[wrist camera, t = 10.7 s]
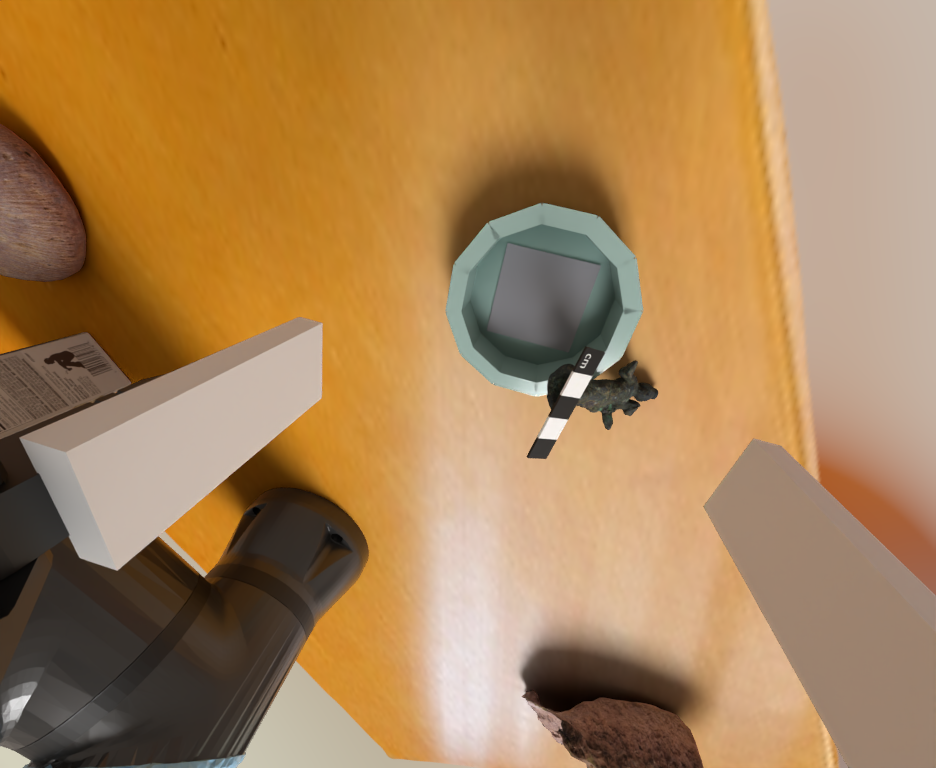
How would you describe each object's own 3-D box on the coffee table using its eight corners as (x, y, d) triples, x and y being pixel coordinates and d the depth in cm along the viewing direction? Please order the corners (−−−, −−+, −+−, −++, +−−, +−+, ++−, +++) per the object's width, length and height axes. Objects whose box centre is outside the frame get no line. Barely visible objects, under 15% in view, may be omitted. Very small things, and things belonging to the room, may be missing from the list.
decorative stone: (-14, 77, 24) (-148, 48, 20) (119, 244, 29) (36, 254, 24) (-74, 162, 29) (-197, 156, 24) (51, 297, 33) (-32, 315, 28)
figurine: (587, 347, 16) (718, 384, 22) (538, 316, 19) (665, 356, 25) (527, 458, 18) (661, 463, 24) (493, 414, 21) (619, 428, 27)
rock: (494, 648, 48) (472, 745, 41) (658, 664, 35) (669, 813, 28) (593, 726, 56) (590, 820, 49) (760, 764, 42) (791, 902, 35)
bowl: (448, 349, 27) (435, 368, 24) (479, 188, 22) (467, 185, 19) (590, 388, 26) (596, 413, 23) (658, 230, 21) (678, 233, 18)
